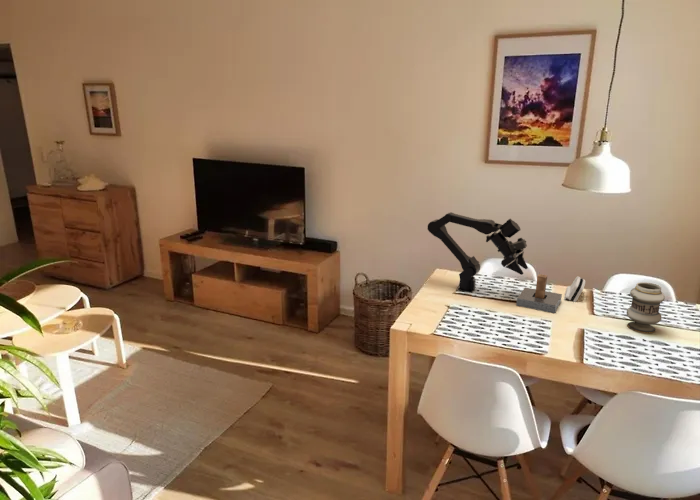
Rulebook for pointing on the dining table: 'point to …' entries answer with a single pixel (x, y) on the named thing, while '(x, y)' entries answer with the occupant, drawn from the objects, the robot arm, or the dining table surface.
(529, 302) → the grey slotted block
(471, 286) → the robot arm
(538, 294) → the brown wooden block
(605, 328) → the dining table surface
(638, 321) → the apothecary jar
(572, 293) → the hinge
